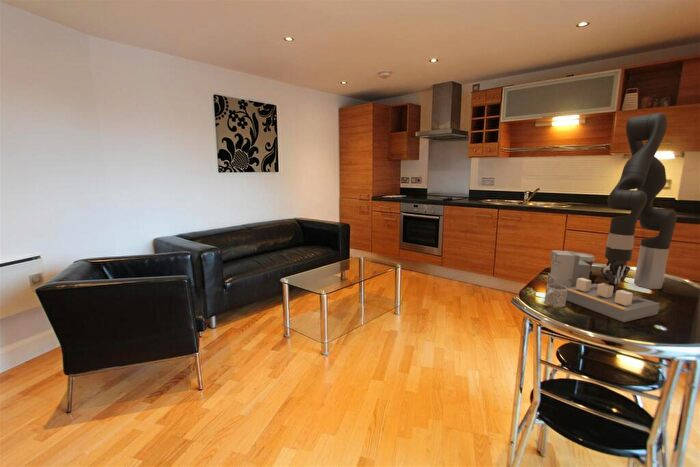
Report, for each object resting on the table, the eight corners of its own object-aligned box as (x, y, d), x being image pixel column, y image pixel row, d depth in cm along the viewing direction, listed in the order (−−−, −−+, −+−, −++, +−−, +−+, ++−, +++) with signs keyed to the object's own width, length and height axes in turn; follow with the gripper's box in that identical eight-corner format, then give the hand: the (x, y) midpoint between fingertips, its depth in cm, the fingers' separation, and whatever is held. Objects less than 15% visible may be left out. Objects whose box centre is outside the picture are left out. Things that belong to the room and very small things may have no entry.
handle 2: (620, 300, 121) (621, 289, 120) (631, 304, 117) (633, 293, 117) (614, 301, 120) (616, 290, 119) (625, 305, 116) (627, 294, 116)
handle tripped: (602, 293, 128) (603, 283, 127) (612, 296, 124) (613, 286, 124) (596, 294, 126) (598, 284, 126) (606, 297, 123) (608, 287, 123)
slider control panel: (593, 292, 140) (595, 283, 140) (657, 314, 120) (659, 303, 120) (562, 298, 134) (563, 288, 133) (623, 322, 114) (625, 310, 113)
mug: (550, 299, 133) (552, 282, 132) (568, 305, 128) (571, 288, 127) (535, 304, 128) (537, 287, 127) (553, 310, 123) (556, 293, 122)
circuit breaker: (591, 292, 141) (596, 256, 138) (553, 289, 144) (557, 254, 141) (583, 286, 149) (588, 252, 146) (546, 283, 151) (551, 250, 148)
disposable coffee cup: (594, 285, 150) (598, 258, 147) (569, 282, 153) (573, 256, 150) (587, 278, 159) (590, 253, 156) (563, 276, 161) (566, 251, 159)
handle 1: (581, 287, 133) (582, 277, 133) (590, 290, 130) (591, 280, 129) (575, 288, 132) (577, 278, 132) (584, 291, 129) (586, 281, 128)
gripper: (620, 242, 129) (613, 287, 132) (596, 245, 124) (589, 291, 128) (643, 247, 122) (634, 293, 125) (618, 250, 117) (610, 298, 121)
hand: (611, 292), depth 127 cm, fingers closed
